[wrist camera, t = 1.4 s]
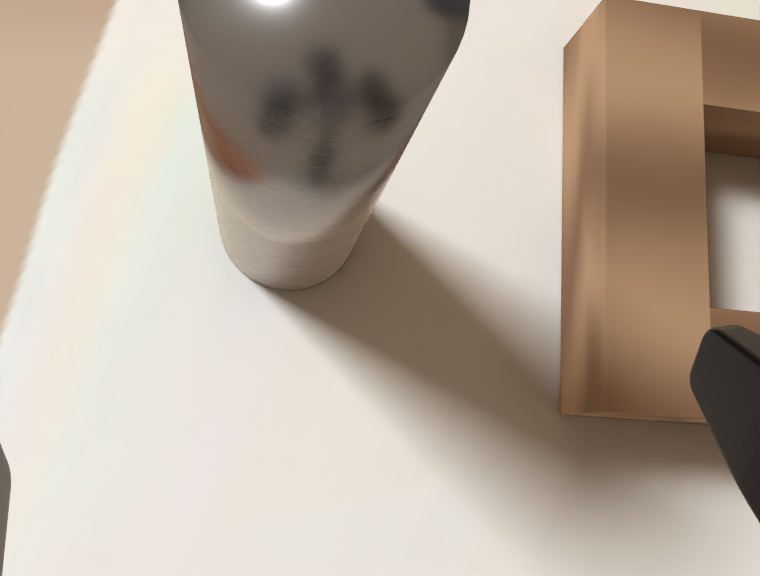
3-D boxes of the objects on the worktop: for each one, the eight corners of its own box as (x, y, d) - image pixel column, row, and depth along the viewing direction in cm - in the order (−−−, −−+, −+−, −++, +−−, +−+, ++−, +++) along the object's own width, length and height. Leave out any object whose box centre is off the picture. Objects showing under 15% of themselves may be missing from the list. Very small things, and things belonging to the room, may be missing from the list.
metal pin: (351, 296, 21) (465, 135, 10) (212, 283, 21) (157, 96, 9) (360, 167, 22) (474, -122, 11) (226, 152, 22) (193, -174, 10)
